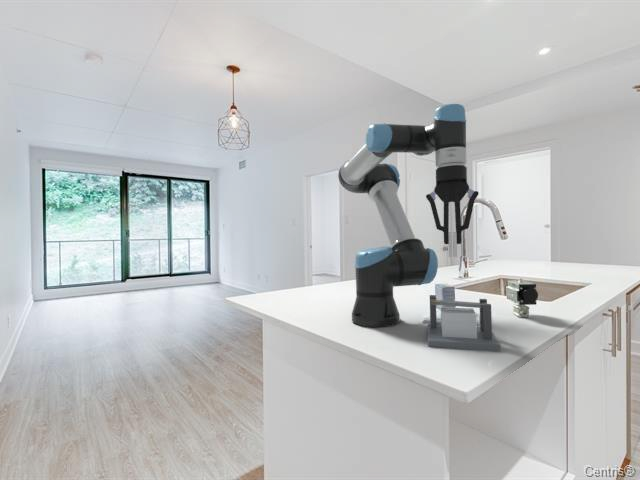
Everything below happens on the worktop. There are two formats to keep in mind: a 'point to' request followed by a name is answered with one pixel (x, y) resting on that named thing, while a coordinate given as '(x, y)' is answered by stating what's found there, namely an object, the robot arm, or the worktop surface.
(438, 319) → the external hard drive
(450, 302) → the lever
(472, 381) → the worktop surface
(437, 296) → the medicine box
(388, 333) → the worktop surface
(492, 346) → the heatsink base
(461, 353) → the worktop surface
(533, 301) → the pneumatic valve
